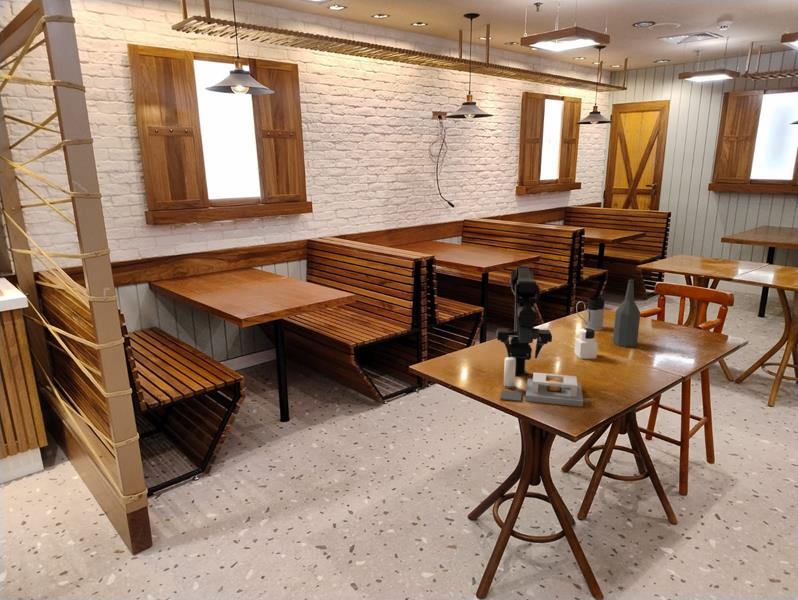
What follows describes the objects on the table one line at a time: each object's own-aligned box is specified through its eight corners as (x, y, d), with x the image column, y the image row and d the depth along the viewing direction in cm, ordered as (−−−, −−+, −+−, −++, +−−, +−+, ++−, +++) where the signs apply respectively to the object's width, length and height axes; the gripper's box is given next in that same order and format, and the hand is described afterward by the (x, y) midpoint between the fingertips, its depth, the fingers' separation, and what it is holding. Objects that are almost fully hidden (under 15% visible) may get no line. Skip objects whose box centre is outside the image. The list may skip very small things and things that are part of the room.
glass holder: (606, 330, 270) (608, 300, 267) (577, 330, 270) (579, 301, 266) (599, 325, 279) (602, 296, 275) (571, 325, 278) (574, 296, 275)
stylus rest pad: (502, 391, 198) (502, 390, 198) (521, 394, 196) (521, 392, 196) (500, 399, 191) (500, 398, 191) (520, 402, 190) (520, 400, 190)
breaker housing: (527, 383, 206) (528, 368, 204) (580, 388, 201) (581, 373, 199) (525, 400, 191) (526, 384, 189) (582, 406, 186) (584, 390, 184)
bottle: (631, 340, 254) (638, 277, 247) (640, 347, 245) (647, 282, 238) (609, 340, 255) (615, 277, 247) (617, 347, 245) (623, 282, 238)
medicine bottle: (590, 353, 238) (592, 326, 235) (596, 358, 231) (598, 331, 228) (574, 353, 238) (576, 326, 235) (579, 359, 231) (582, 331, 228)
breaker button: (548, 386, 198) (548, 379, 197) (559, 387, 196) (560, 380, 196) (548, 390, 194) (548, 383, 193) (559, 391, 193) (560, 384, 192)
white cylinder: (502, 384, 204) (503, 357, 202) (512, 384, 205) (513, 356, 202) (505, 389, 200) (506, 360, 198) (515, 388, 201) (517, 360, 198)
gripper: (499, 322, 184) (497, 365, 188) (555, 323, 182) (552, 367, 186) (497, 312, 195) (495, 353, 199) (551, 314, 193) (548, 355, 197)
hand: (522, 357), depth 195 cm, fingers open, 9 cm apart
